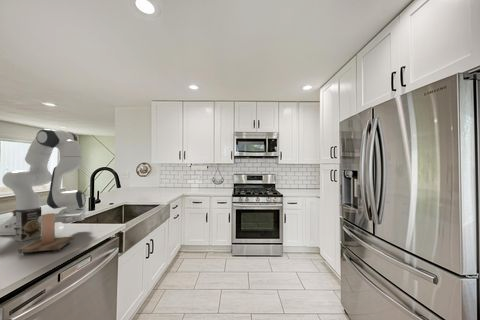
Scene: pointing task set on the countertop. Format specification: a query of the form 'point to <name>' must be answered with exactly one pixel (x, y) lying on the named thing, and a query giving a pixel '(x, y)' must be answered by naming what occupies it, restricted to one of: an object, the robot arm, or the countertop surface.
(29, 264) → the countertop surface
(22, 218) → the coffee box
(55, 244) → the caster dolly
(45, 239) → the terracotta canister
